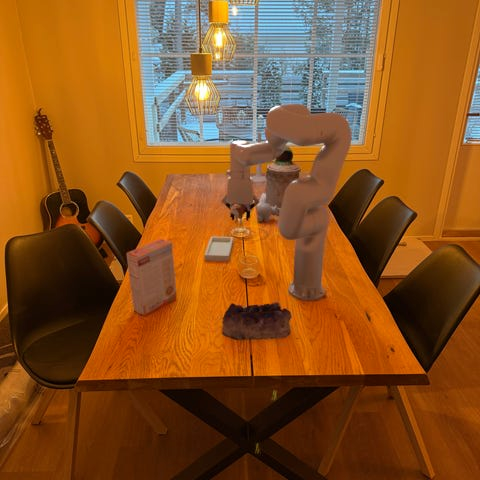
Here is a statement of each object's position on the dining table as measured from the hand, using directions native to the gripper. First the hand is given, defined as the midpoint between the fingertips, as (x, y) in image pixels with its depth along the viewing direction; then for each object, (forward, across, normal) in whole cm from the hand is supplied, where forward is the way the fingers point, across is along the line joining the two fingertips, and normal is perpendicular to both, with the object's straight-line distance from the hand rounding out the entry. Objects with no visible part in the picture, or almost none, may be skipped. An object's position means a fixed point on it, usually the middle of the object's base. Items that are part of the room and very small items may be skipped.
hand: (240, 218), depth 173 cm
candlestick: (+17, +1, +113) cm, 114 cm away
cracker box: (+16, -24, -41) cm, 50 cm away
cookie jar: (+16, +16, +66) cm, 70 cm away
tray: (+16, -9, +3) cm, 18 cm away
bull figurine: (+1, 0, 0) cm, 1 cm away
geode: (+16, +10, -53) cm, 56 cm away
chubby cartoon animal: (+16, +10, +40) cm, 44 cm away
